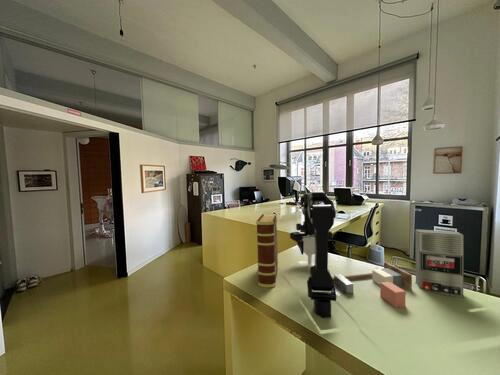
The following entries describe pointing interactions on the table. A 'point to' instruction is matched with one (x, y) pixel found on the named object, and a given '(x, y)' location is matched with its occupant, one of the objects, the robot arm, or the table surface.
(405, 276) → the shelf
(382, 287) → the salmon pink box
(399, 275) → the book
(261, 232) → the decorative book
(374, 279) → the cream rectangular block
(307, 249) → the heart sculpture
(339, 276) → the bookend
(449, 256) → the cassette tape recorder
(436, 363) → the table surface
